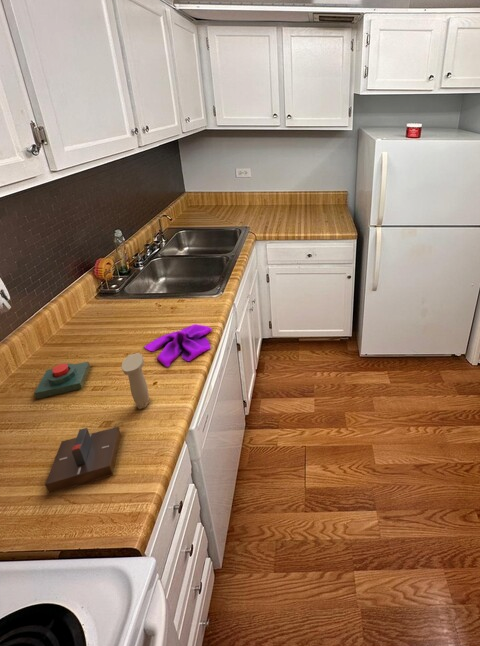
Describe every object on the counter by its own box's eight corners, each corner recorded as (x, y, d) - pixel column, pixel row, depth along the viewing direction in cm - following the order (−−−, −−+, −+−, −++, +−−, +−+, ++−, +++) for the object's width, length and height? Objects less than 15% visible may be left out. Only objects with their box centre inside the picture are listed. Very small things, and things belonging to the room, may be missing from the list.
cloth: (211, 322, 125) (209, 308, 123) (216, 355, 109) (214, 340, 106) (145, 336, 117) (142, 322, 115) (140, 374, 101) (137, 358, 99)
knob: (84, 443, 78) (78, 428, 76) (92, 440, 78) (87, 426, 76) (76, 465, 73) (71, 451, 71) (85, 463, 73) (79, 448, 72)
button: (52, 378, 95) (50, 374, 94) (56, 369, 98) (54, 365, 97) (66, 375, 96) (65, 371, 95) (70, 366, 99) (69, 362, 98)
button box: (36, 399, 93) (31, 388, 91) (48, 375, 100) (44, 365, 99) (81, 388, 96) (78, 378, 94) (90, 366, 104) (87, 356, 102)
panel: (48, 493, 70) (44, 484, 69) (65, 450, 79) (61, 440, 78) (112, 474, 74) (109, 465, 73) (121, 434, 83) (118, 425, 82)
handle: (132, 416, 88) (120, 373, 82) (134, 397, 93) (123, 355, 88) (152, 411, 89) (141, 368, 84) (153, 392, 95) (143, 351, 89)
